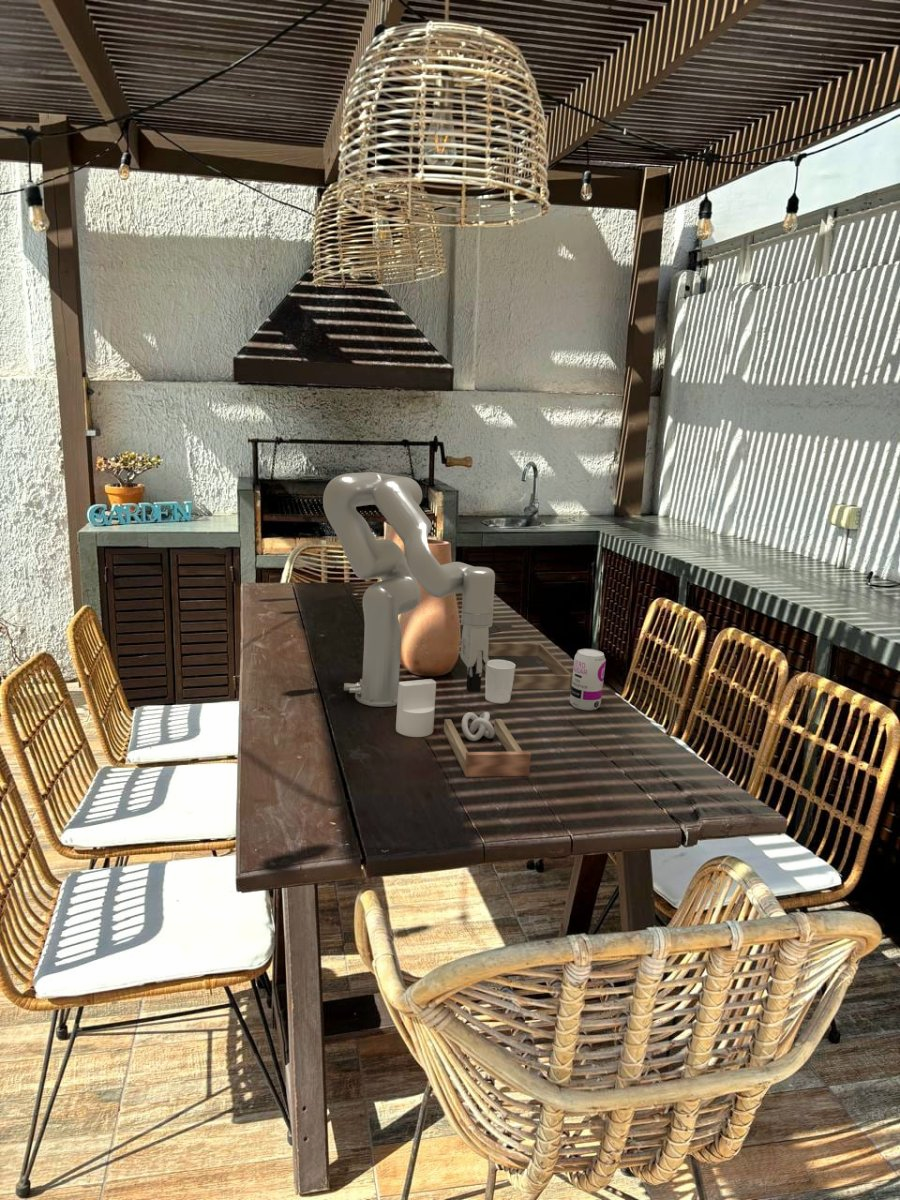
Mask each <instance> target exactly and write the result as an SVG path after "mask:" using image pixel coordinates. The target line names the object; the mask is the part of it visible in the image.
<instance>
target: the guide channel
mask: <svg viewBox="0 0 900 1200" xmlns="http://www.w3.org/2000/svg"><path fill="white" fill-rule="evenodd" d="M493 724H494V726H493V728H494V731H495V734H496V736H497V738H498V739H499V741H500V743H501V744H502V746H503V747H504V749H505V750H506V751H468V750H467V747H466V745H465V744H464V741H463V740H462V738H461V736H460V734H459V732H458V730H457V728H456V727H455V725H454V723H453V721H452V719H449V718H448V719H447V718H446V719H445V718H444V723H443V733H444V734H445V737H446V739H447V740H448V743H449V745H450V747H451V749H452V750H453V753H454V755H455V757H456V759H457V762H458V764H459V765H460V767H461V770H462V771H463V774H464V776H465V777H466V778H467V777H470V778H473V777H475V778H477V777H523V776H524V777H525V776H530V771H531V770H530V769H531V757H532V753H531V752H530V751H523V750H522V748H521V747H520V746H519V744H518V742H517V741H516V740H515V738H514V737H513V735H512V734H511V732H510V731H509V729H508V728H507V725H505V723H504V721H503V720H502V719H501V718H495V719H494V723H493Z"/></svg>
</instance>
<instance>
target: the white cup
mask: <svg viewBox="0 0 900 1200" xmlns="http://www.w3.org/2000/svg"><path fill="white" fill-rule="evenodd" d="M515 674H516V664H515V663H514V662H513V661H509V660H506V659H490V660H489V661H488V662H487V666H486V673H485V681H484V682H485V683H484V685H485V686H484V687H485V693H484V694H485V695H484V698H485V700H486V701H488V702H490V703H492V704H493V703H494V704H506V703H509V702H510V701H511V696H512V692H513V689H512V687H513V680H514V675H515Z"/></svg>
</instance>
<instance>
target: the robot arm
mask: <svg viewBox="0 0 900 1200" xmlns="http://www.w3.org/2000/svg"><path fill="white" fill-rule="evenodd" d="M322 496H323V497H322V504H323V505H322V506H323V507H322V508H323V510H324V514H325V516H326V519H327V521H328V523H329V524H330V525H331V528H332V529H333V531H334V533H335V534H336V536H337V539H338V541H339V544H340V546H341V548H342V550H343V552H344V554H345V557H346V559H347V561H348V563H349V565H350V567H351V569H352V571H353V573H354V574H355V576H356V577H358V578H359V579H361V580H366V581H367V580H372V579H377V578H380V579H381V580H380V581H376V582H374V583H373V584H371V585H369V587H368V588H366V589H365V592H364V593H363V596H362V610H363V618H364V632H363V633H364V634H363V635H364V638H363V660H362V676H361V678H360V679H359V681H358V682H355V683H351V682H350V683H349V682H344V683H343V691H348V692H349V694H352V693H353V694H355V695H354V697H355V700H356V701H357V702H359V703H360V704H362V705H365V706H366V705H367V706H369V707H375V708H376V707H377V708H387V707H394V706H397V704H398V687H399V682H400V666H401V654H402V653H401V652H402V651H401V650H402V649H401V648H402V627H401V623H400V620H399V615H401V614H404V613H406V612H410V611H412V610H414V609H415V608H416V607H417V606H418V604H419V603H420V600H421V588H420V586H421V587H422V588H423V590H424V591H425V592H426V593H427V594H429V595H430V596H432V597H435V598H445V597H448V596H450V595H453V594H459V593H462V599H461V600H462V603H461V622H460V623H461V625H462V626H463V627H462V633H461V642H460V644H461V645H460V652H459V653H460V654H459V656H460V659H461V661H462V662H463V663H464V665H465V666H466V667H467V668H466V669H467V672H466V673H467V674H466V691H467V692H468V693H480V692H481V691H482V690H481V689H482V687H481V685H482V674H483V668H482V666H483V667H486V666H487V662H488V658H489V656H488V643H490V641H489V637H490V635H489V633H490V632H489V628H491V627H492V626H493V620H494V619H493V618H494V617H493V616H494V601H495V600H494V599H495V583H496V573H495V571H494V570H493V569H492V568H490V567H487V566H473V565H470V564H467V563H464V562H461V561H452V562H448V563H444V564H441V563H440V562H439V561H438V560H437V558H436V557H435V555H434V554H433V552H432V550H431V549H430V546H429V542H428V537H429V533H430V532H431V530H432V527H433V526H432V525H433V524H432V522H431V520H430V518H429V517H428V516H427V515H426V514H425V512H424V511H423V510H422V507H420V504H421V502H422V500H423V491H422V488H421V486H420V484H419V483H418V482H417V481H416V480H414V479H412V478H410V477H407V476H401V475H394V474H388V473H387V474H386V473H380V472H373V471H371V472H370V471H365V472H351V473H343V474H339V475H337V476H335V477H334V478H332V479H331V480H329V482H328V484H326V487H325V490H324V491H323V495H322ZM369 505H371V506H373V505H374V506H376V507H377V508H378V511H380V513H381V514H382V515H383V517H384V518H385V519H386V521H387V522H388V524H389V525H390V527H392V529H393V530H394V532H395V534H397V536H398V537H399V539H400V540H401V542H402V543H403V547H404V548H403V549H404V550H402V548H401V547H400V546H399V544H397V543H396V542H394V541H392V540H390V539H386V538H385V539H384V538H383V539H377V538H376V537H375V536H374V533H373V532H372V529H371V528H370V525H369V523H368V521H366V519H365V518H364V516H363V515H361V513H359V512H358V510H357V507H362V506H364V507H365V506H369ZM419 585H420V586H419Z"/></svg>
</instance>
